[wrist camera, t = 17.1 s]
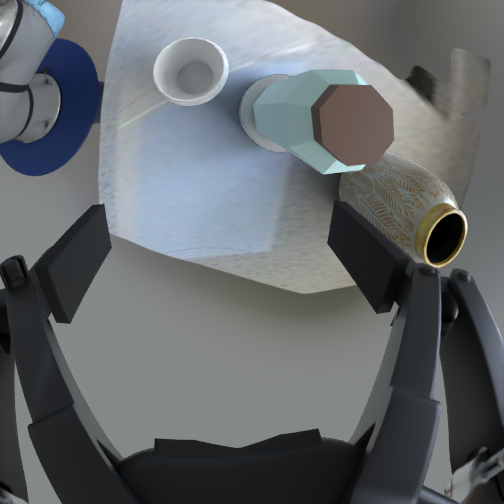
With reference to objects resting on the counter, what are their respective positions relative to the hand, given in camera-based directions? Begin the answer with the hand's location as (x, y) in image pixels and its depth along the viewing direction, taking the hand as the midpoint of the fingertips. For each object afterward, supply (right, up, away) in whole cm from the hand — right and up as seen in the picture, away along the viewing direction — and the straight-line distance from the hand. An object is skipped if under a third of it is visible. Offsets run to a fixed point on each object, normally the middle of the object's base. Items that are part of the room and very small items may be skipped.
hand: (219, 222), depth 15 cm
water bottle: (+7, +20, +24) cm, 32 cm away
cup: (-8, +29, +27) cm, 41 cm away
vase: (+27, +13, +41) cm, 51 cm away
